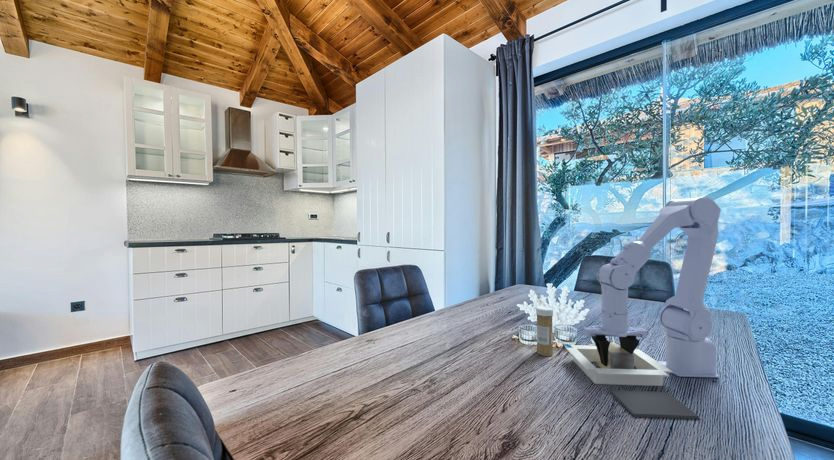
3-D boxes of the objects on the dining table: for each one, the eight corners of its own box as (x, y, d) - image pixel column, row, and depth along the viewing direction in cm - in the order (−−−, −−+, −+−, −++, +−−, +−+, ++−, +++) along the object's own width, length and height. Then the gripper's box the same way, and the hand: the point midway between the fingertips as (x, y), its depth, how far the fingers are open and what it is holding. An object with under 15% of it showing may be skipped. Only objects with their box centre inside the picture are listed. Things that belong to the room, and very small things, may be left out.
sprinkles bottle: (556, 354, 95) (556, 308, 94) (546, 357, 92) (546, 310, 92) (542, 349, 99) (542, 304, 98) (532, 352, 96) (532, 307, 96)
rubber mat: (667, 394, 72) (667, 391, 72) (698, 419, 63) (698, 416, 63) (610, 392, 73) (610, 390, 73) (633, 416, 64) (633, 413, 64)
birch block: (614, 364, 88) (614, 342, 87) (633, 380, 79) (634, 355, 79) (596, 364, 88) (596, 341, 88) (613, 380, 79) (614, 355, 79)
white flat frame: (634, 358, 91) (634, 346, 91) (678, 390, 74) (678, 375, 74) (563, 357, 93) (563, 344, 93) (590, 387, 76) (590, 373, 75)
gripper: (591, 315, 80) (591, 370, 80) (654, 316, 78) (654, 372, 79) (579, 308, 87) (579, 358, 87) (637, 308, 85) (637, 360, 86)
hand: (614, 364), depth 83 cm, fingers closed on birch block, 4 cm apart
